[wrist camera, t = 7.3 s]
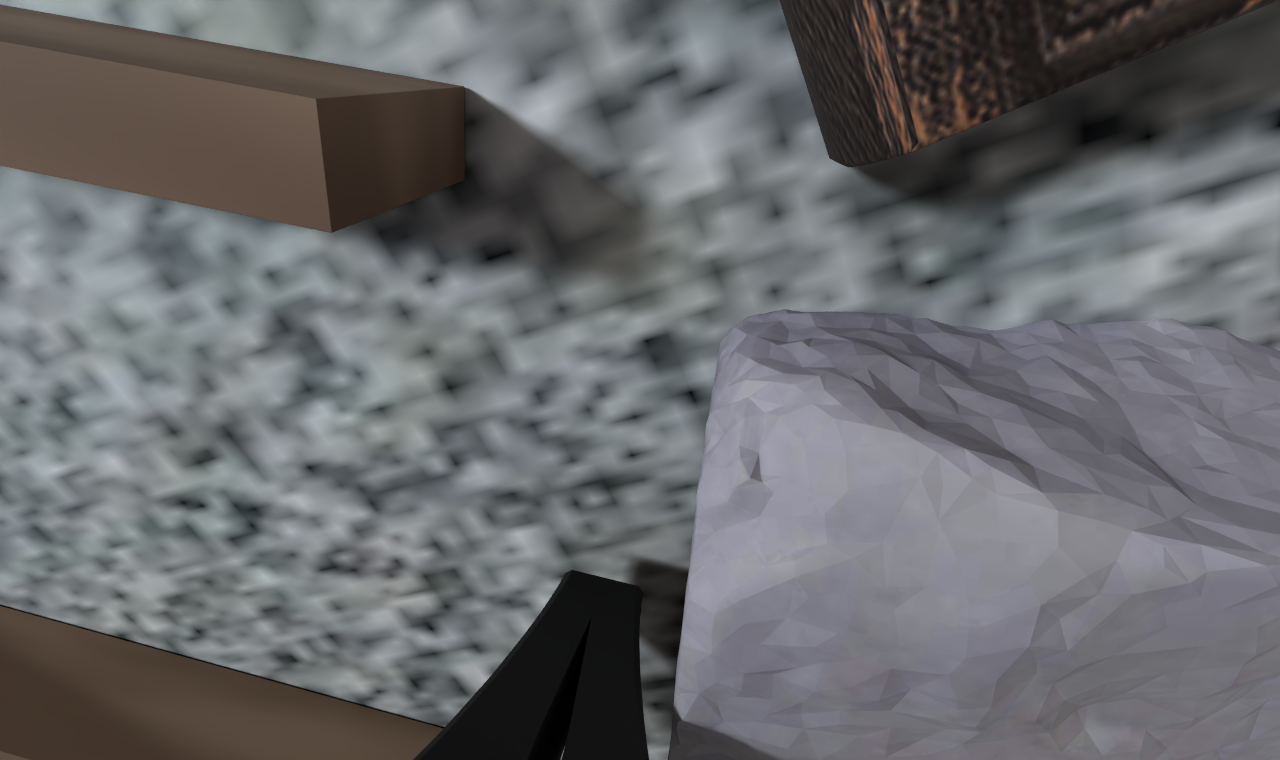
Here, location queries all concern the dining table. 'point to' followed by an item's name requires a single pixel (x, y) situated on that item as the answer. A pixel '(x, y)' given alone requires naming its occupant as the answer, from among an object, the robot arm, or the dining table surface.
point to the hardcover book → (966, 59)
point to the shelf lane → (234, 182)
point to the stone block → (984, 544)
